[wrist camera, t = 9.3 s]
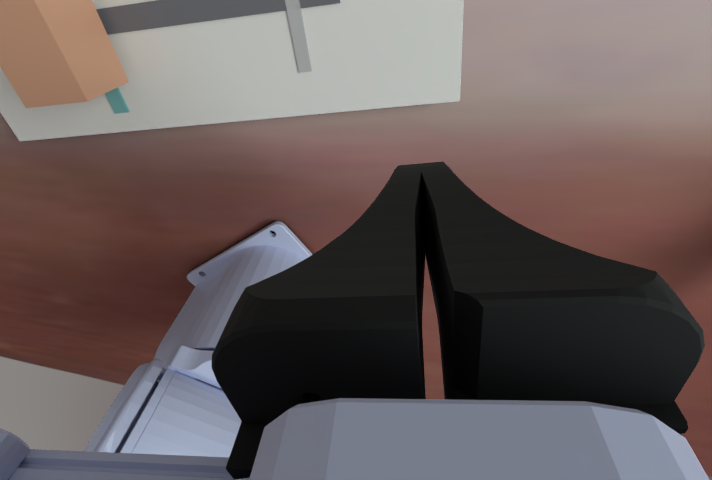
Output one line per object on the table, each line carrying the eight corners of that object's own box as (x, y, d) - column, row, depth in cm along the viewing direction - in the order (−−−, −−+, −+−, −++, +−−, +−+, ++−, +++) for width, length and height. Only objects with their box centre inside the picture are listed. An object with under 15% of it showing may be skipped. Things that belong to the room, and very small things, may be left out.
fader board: (465, -208, 13) (472, -225, 12) (456, 91, 19) (460, 101, 18) (-100, -90, 17) (-141, -93, 15) (40, 131, 23) (18, 141, 21)
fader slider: (70, -48, 15) (9, -48, 13) (128, 81, 18) (88, 101, 16) (6, -37, 16) (-64, -35, 13) (74, 88, 19) (25, 108, 16)
